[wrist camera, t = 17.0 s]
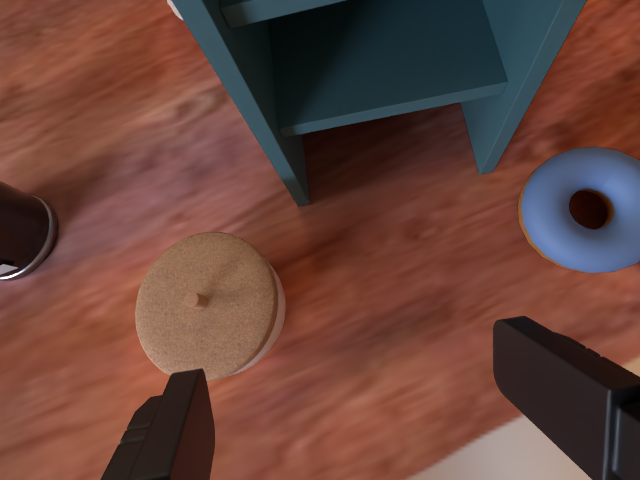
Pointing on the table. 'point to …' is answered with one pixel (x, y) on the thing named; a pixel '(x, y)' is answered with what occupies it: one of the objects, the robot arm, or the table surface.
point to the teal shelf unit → (377, 65)
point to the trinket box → (209, 306)
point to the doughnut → (559, 226)
